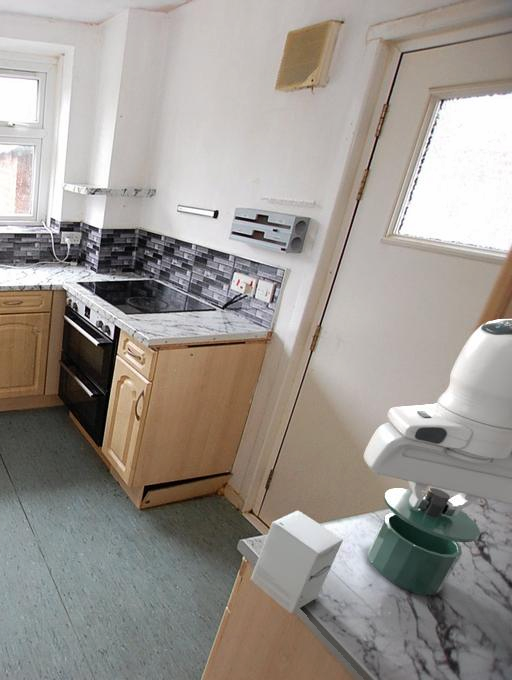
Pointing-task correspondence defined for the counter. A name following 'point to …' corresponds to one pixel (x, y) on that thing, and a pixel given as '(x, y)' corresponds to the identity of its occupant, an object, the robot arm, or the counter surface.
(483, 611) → the counter surface
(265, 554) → the white packaging box
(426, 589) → the tin
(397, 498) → the lid
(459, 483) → the robot arm
